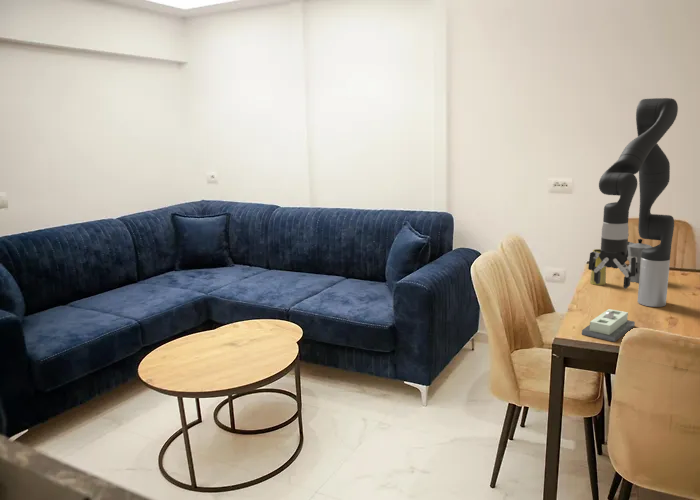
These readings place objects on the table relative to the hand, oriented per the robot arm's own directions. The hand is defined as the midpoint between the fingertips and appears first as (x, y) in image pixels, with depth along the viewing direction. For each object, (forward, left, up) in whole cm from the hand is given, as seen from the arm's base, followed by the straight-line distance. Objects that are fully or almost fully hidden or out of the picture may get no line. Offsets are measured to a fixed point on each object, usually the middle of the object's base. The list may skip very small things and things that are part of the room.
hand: (611, 285), depth 170 cm
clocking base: (+1, 0, -15) cm, 15 cm away
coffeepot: (-66, -13, -15) cm, 69 cm away
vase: (-51, -23, -15) cm, 58 cm away
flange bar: (+1, 0, -13) cm, 13 cm away
